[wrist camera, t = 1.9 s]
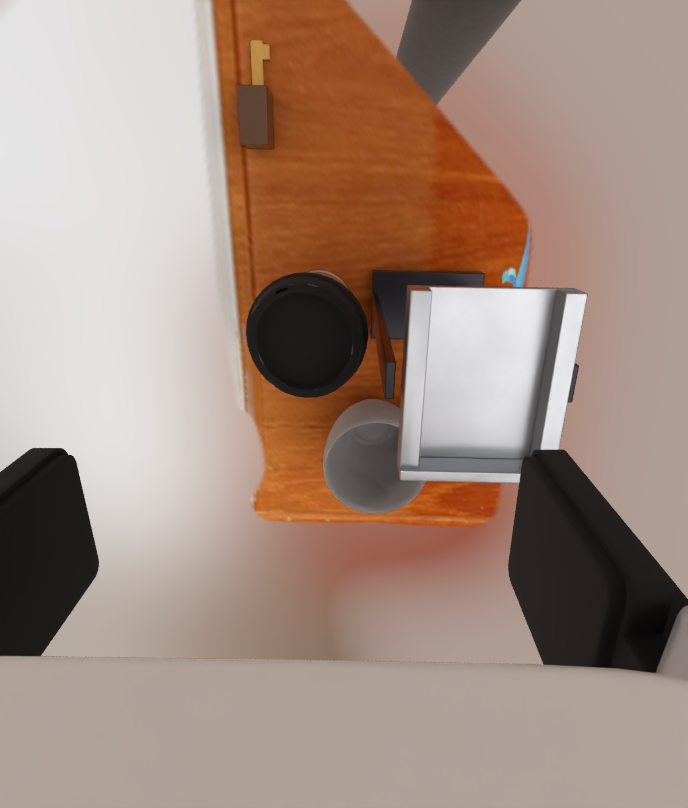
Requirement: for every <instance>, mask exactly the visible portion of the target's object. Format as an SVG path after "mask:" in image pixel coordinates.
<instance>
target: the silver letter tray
mask: <svg viewBox="0 0 688 808" xmlns="http://www.w3.org/2000/svg"><path fill="white" fill-rule="evenodd" d="M587 296H588V294H587V293H585V292H582V291H580V290H577V289H575V288H537V287H535V288H534V287H482V286H428V285H407V297H406V314H405V331H404V348H403V365H402V382H401V399H400V416H399V433H398V450H397V466H398V472H399V478H400V480H401V481H445V482H488V483H519V482H520V474H521V467H522V461H523V459H524V457H525V456H531V455H532V453H533V451H534V450H559V447H560V441H561V436H562V430H563V425H564V420H565V414H566V409H567V403H568V398H569V393H570V387H571V382H572V376H573V371H574V366H575V360H576V355H577V349H578V344H579V338H580V333H581V328H582V323H583V316H584V311H585V306H586V301H587Z"/></svg>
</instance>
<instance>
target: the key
mask: <svg viewBox="0 0 688 808" xmlns="http://www.w3.org/2000/svg"><path fill="white" fill-rule="evenodd" d="M250 45H251V68H252V85H237V95H238V114H239V134H240V144H241V145H242V146H244V147H246V148H248V149H274V126H273V95H272V93H271V92H270V90H269V89H268V87H267V86H266V85H264V67H263V60H264V61H270V45H269V44H263V42H262V40H250Z"/></svg>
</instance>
